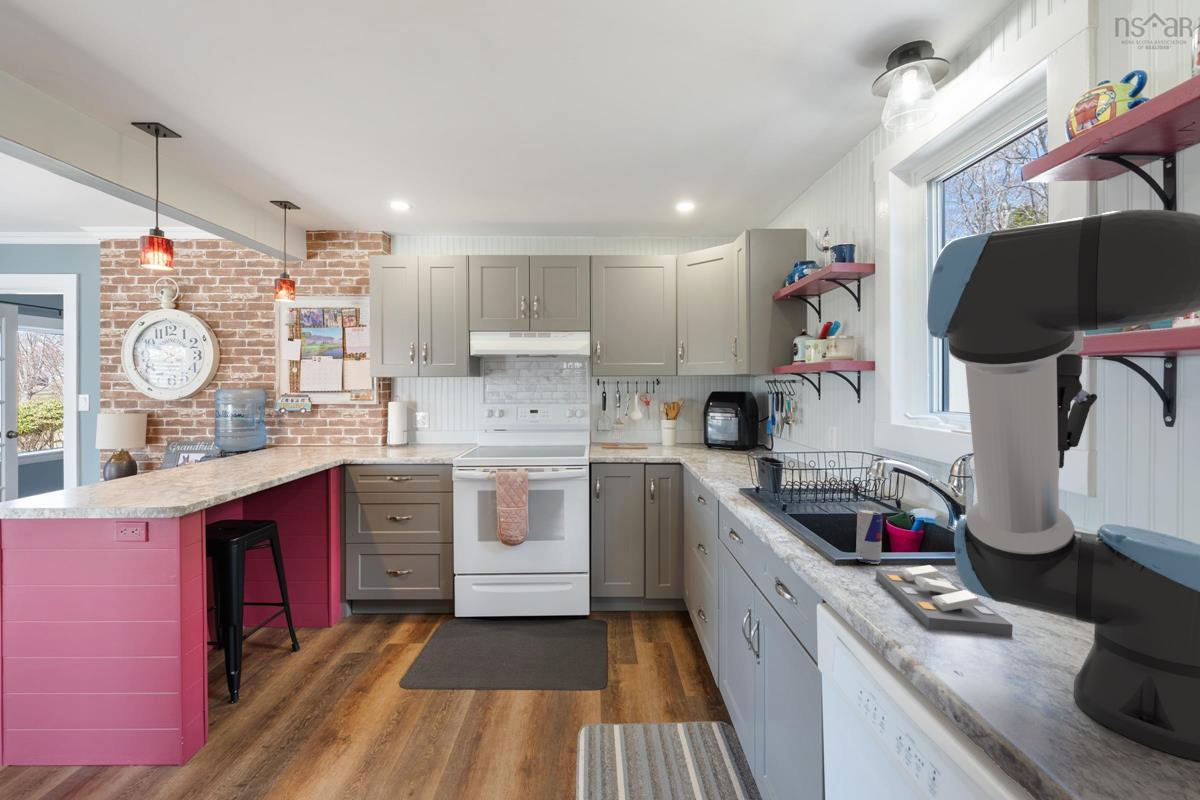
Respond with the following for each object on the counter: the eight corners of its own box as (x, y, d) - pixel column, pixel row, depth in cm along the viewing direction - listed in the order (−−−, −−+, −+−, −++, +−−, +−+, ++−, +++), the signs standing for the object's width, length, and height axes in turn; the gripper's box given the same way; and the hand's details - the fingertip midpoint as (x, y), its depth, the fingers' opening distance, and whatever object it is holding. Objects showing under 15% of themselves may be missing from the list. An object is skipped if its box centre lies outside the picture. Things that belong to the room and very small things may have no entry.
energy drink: (884, 566, 121) (885, 515, 121) (859, 564, 122) (861, 513, 122) (876, 558, 126) (878, 509, 126) (853, 556, 127) (854, 508, 127)
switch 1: (939, 576, 104) (938, 570, 104) (908, 581, 105) (906, 574, 105) (931, 570, 108) (929, 564, 108) (900, 574, 109) (899, 568, 109)
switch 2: (957, 595, 98) (958, 588, 98) (923, 589, 98) (924, 582, 98) (947, 588, 101) (948, 581, 101) (914, 582, 102) (915, 575, 102)
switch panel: (1012, 636, 87) (1012, 621, 87) (928, 629, 89) (928, 614, 89) (940, 583, 111) (941, 571, 111) (875, 578, 113) (876, 567, 113)
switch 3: (979, 604, 91) (977, 596, 91) (943, 611, 92) (941, 604, 92) (968, 596, 94) (966, 588, 94) (933, 603, 95) (931, 596, 95)
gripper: (1079, 355, 95) (1073, 483, 96) (1000, 355, 97) (995, 480, 98) (1112, 353, 88) (1106, 491, 88) (1027, 352, 90) (1021, 488, 90)
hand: (1048, 485), depth 93 cm, fingers closed
